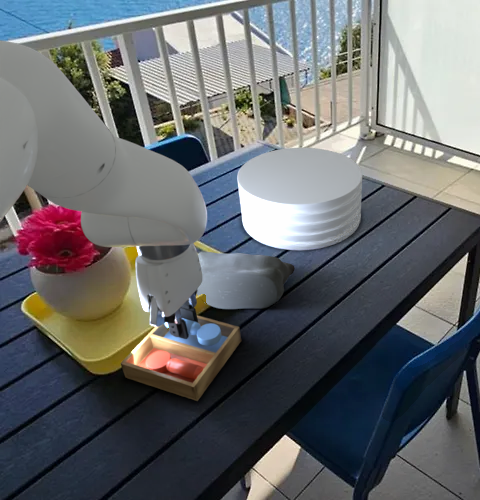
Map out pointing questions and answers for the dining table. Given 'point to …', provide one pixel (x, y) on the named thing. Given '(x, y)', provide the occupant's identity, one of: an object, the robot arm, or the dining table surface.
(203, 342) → the blue disc-ended peg
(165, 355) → the red knob peg
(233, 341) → the caddy
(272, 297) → the rock
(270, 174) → the plate stack
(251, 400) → the dining table surface
